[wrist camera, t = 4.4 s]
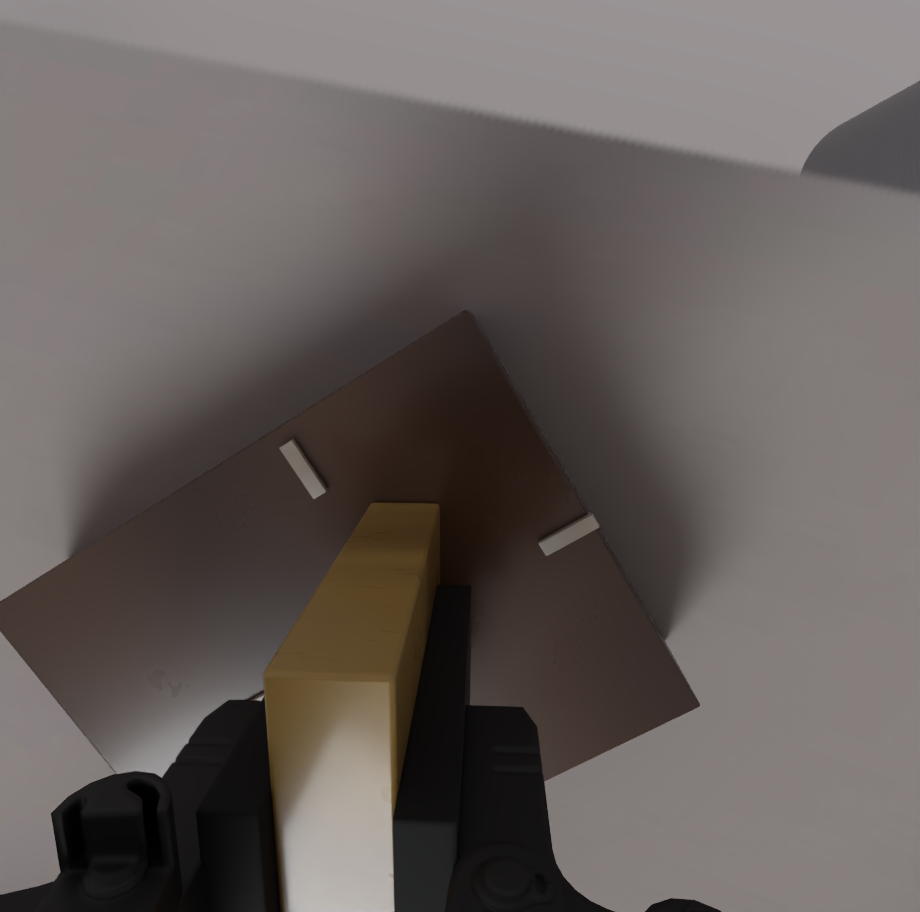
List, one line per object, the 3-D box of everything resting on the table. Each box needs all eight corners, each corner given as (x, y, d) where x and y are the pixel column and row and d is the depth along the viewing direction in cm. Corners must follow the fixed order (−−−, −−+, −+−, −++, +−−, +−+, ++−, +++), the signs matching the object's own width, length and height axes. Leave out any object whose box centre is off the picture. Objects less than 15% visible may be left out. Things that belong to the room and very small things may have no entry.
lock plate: (473, 309, 16) (470, 306, 13) (668, 641, 18) (707, 708, 15) (64, 564, 18) (-22, 614, 15) (276, 839, 20) (237, 934, 17)
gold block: (370, 501, 14) (252, 683, 7) (439, 502, 14) (391, 688, 7) (377, 731, 15) (283, 1081, 8) (440, 733, 15) (401, 1089, 8)
